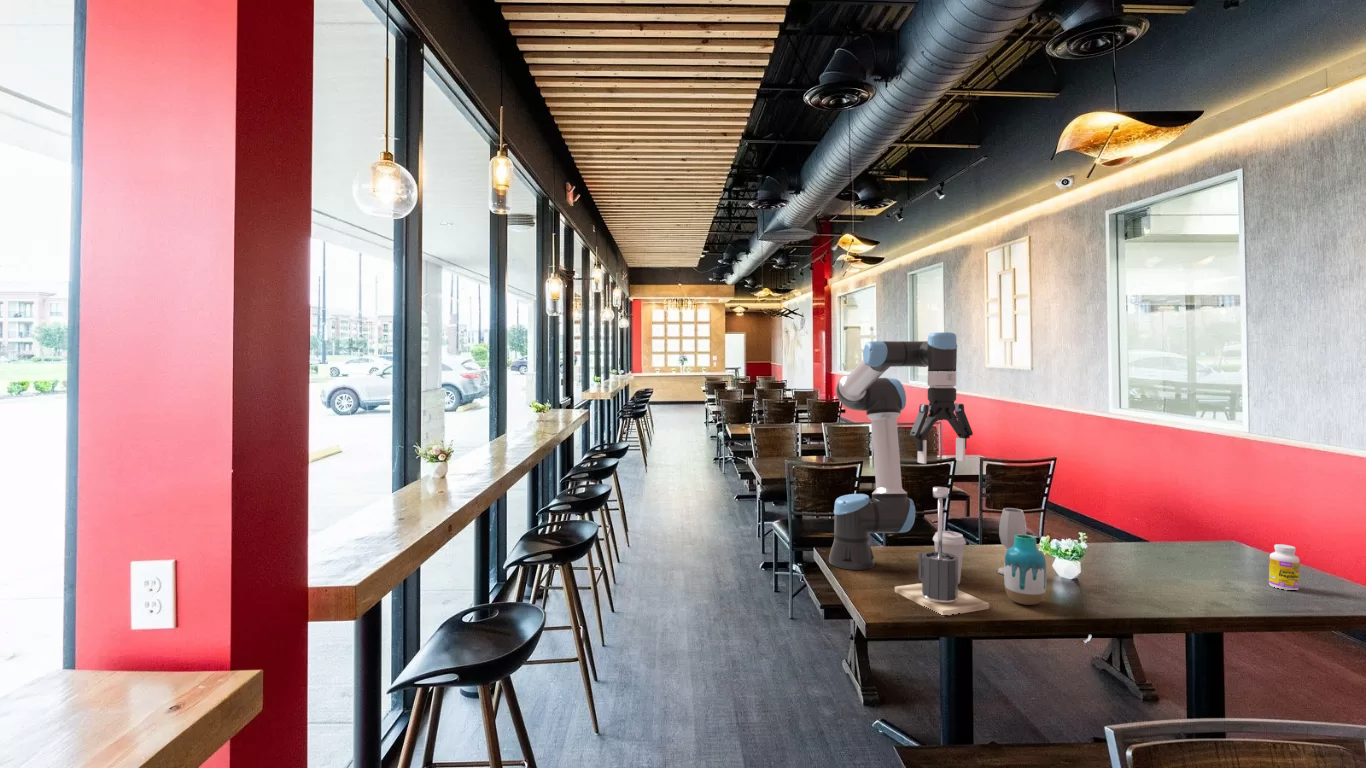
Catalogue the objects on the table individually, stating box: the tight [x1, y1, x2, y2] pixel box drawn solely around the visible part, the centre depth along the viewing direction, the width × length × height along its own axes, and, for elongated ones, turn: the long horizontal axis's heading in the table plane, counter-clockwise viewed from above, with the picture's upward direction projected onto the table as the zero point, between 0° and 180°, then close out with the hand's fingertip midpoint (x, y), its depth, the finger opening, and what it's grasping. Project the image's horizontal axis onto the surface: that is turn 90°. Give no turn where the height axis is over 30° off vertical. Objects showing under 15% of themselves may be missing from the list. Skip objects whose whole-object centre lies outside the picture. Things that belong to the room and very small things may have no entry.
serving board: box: [894, 582, 990, 616], centre depth 182 cm, size 20×16×2 cm
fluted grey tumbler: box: [918, 550, 959, 604], centre depth 181 cm, size 12×9×12 cm
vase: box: [1003, 533, 1047, 606], centre depth 179 cm, size 11×11×19 cm
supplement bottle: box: [1268, 543, 1300, 591], centre depth 192 cm, size 7×7×13 cm
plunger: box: [930, 486, 951, 560], centre depth 179 cm, size 6×6×21 cm
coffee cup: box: [932, 530, 966, 585], centre depth 198 cm, size 10×10×15 cm
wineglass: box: [997, 507, 1027, 576], centre depth 205 cm, size 9×9×21 cm
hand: (941, 461), depth 178 cm, fingers open, 13 cm apart
